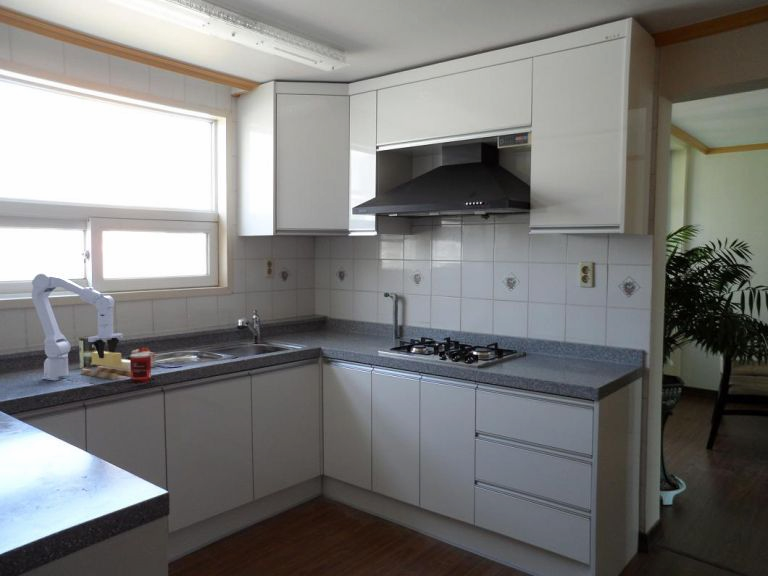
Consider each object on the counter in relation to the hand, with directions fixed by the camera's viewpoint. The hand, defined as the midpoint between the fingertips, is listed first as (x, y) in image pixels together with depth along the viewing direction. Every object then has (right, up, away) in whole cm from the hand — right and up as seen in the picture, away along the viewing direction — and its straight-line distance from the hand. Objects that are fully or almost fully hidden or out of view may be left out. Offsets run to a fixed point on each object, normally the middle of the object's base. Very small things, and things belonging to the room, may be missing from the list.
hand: (106, 357), depth 250 cm
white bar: (+4, -7, +7) cm, 10 cm away
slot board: (+2, -9, +4) cm, 10 cm away
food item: (+7, -8, +22) cm, 24 cm away
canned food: (+16, -9, -5) cm, 20 cm away
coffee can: (-19, -8, +26) cm, 33 cm away
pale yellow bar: (0, -3, 0) cm, 3 cm away
